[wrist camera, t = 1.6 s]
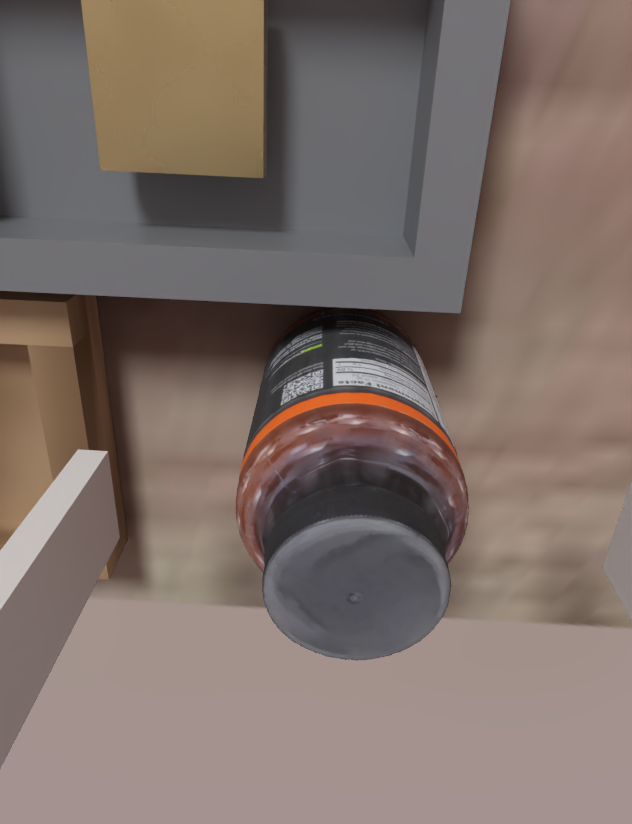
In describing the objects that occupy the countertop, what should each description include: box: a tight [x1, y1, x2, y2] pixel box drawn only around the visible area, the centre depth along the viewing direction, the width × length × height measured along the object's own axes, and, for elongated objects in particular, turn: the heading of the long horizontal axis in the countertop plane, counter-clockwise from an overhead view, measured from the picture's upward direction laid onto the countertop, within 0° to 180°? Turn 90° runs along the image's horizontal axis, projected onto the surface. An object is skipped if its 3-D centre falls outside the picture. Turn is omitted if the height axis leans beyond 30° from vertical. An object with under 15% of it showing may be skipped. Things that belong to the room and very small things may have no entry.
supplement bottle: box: [236, 307, 469, 660], centre depth 18 cm, size 6×6×11 cm
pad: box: [81, 0, 268, 178], centre depth 16 cm, size 4×4×1 cm
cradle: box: [0, 0, 511, 313], centre depth 16 cm, size 16×11×4 cm
